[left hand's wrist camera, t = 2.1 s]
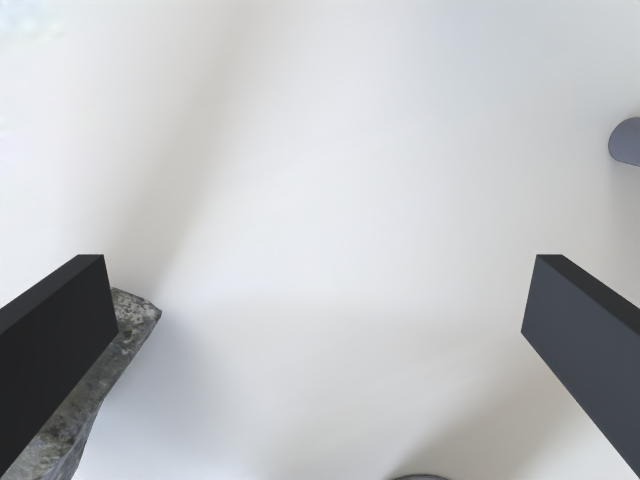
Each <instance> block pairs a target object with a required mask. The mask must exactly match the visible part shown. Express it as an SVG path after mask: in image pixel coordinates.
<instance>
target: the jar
mask: <svg viewBox="0 0 640 480" xmlns="http://www.w3.org/2000/svg"><path fill="white" fill-rule="evenodd" d="M609 151H610V154H611V155H612V157H613V158H614V159H616V160H617V161H620V162H624V163H628V164H632V165H635V166H639V167H640V117H634V118H630V119H627V120H625V121H624V122H622V123H621V124H619V125H618V126H617V127H616V128H615V130H614V131H613V133H612V134H611V136H610V139H609Z"/></svg>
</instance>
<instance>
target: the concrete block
mask: <svg viewBox="0 0 640 480" xmlns="http://www.w3.org/2000/svg"><path fill="white" fill-rule="evenodd" d="M110 289H111V294H112V299H113V304H114V309H115V314H116V319H117V324H118V329H119V333H118V334H117V336H116V337H115V338H114V339H113V341H112V342H111V343H110V344H109V346H108V347H107V348H106V349H105V350H104V352H103V353H102V354H101V355H100V357H99V358H98V359H97V360H96V362H95V363H94V364H93V365H92V366H91V368H90V369H89V370H88V371H87V373H86V374H85V375H84V376H83V378H82V379H81V380H80V381H79V382H78V384H77V385H76V386H75V387H74V389H73V390H72V391H71V392H70V394H69V395H68V396H67V397H66V399H65V400H64V401H63V402H62V403H61V405H60V406H59V407H58V408H57V410H56V411H55V412H54V413H53V415H52V416H51V417H50V418H49V419H48V421H47V422H46V423H45V424H44V426H43V427H42V428H41V429H40V431H39V432H38V433H37V434H36V435H35V437H34V438H33V439H32V440H31V442H30V443H29V444H28V445H27V447H26V448H25V449H24V450H23V451H22V453H21V454H20V455H19V456H18V458H17V459H16V460H15V461H14V463H13V464H12V465H11V466H10V467H9V469H8V470H7V471H6V472H5V474H4V475H3V476H2V477H1V479H0V480H71V479H72V477H73V475H74V473H75V471H76V470H77V468H78V465H79V462H80V459H81V457H82V454H83V450H84V447H85V444H86V442H87V439H88V436H89V433H90V431H91V428H92V425H93V422H94V420H95V418H96V416H97V413H98V411H99V409H100V407H101V404H102V402H103V400H104V398H105V397H106V395H107V394H108V392H109V391H110V390H111V388H112V387H113V386H114V384H115V383H116V381H117V380H118V379H119V377H120V376H121V375H122V373H123V372H124V370H125V369H126V368H127V366H128V365H129V363H130V362H131V361H132V359H133V358H134V356H135V355H136V354H137V352H138V351H139V349H140V348H141V346H142V345H143V343H144V342H145V340H146V339H147V338H148V337H149V335H150V334H151V332H152V330H153V328H154V327H155V325H156V324H157V322H158V320H159V319H160V317H161V314H162V311H161V310H160V309H158V308H157V307H155V306H154V305H153V304H152V303H151V302H150V301H148V300H146V299H143V298H141V297H138V296H135V295H132V294H129V293H127V292H124V291H122V290H119V289H116V288H114V287H110Z"/></svg>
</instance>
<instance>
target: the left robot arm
mask: <svg viewBox="0 0 640 480" xmlns="http://www.w3.org/2000/svg"><path fill="white" fill-rule="evenodd" d="M118 333H119V329H118V324H117V319H116V314H115V309H114V304H113V299H112V294H111V289H110V285H109V280H108V275H107V270H106V265H105V260H104V255H77V256H75V257H74V258H72V259H71V260H70V261H68V262H67V263H65V264H64V265H62V266H61V267H60V268H58V269H57V270H55V271H54V272H52V273H51V274H50V275H48V276H47V277H45V278H44V279H42V280H41V281H40V282H38V283H37V284H35V285H34V286H32V287H31V288H30V289H28V290H27V291H25V292H24V293H22V294H21V295H20V296H18V297H17V298H15V299H14V300H12V301H11V302H10V303H8V304H7V305H5V306H4V307H2V308H1V309H0V479H1V477H2V476H3V475H4V474H5V472H6V471H7V470H8V469H9V467H10V466H11V465H12V464H13V463H14V461H15V460H16V459H17V458H18V456H19V455H20V454H21V453H22V451H23V450H24V449H25V448H26V447H27V445H28V444H29V443H30V442H31V440H32V439H33V438H34V437H35V435H36V434H37V433H38V432H39V431H40V429H41V428H42V427H43V426H44V424H45V423H46V422H47V421H48V419H49V418H50V417H51V416H52V415H53V413H54V412H55V411H56V410H57V408H58V407H59V406H60V405H61V403H62V402H63V401H64V400H65V399H66V397H67V396H68V395H69V394H70V392H71V391H72V390H73V389H74V387H75V386H76V385H77V384H78V382H79V381H80V380H81V379H82V378H83V376H84V375H85V374H86V373H87V371H88V370H89V369H90V368H91V366H92V365H93V364H94V363H95V362H96V360H97V359H98V358H99V357H100V355H101V354H102V353H103V352H104V350H105V349H106V348H107V347H108V346H109V344H110V343H111V342H112V341H113V339H114V338H115V337H116V336H117V334H118ZM521 333H522V334H523V336H524V337H525V338H526V339H527V341H528V342H529V343H530V344H531V346H532V347H533V348H534V349H535V350H536V352H537V353H538V354H539V355H540V357H541V358H542V359H543V360H544V362H545V363H546V364H547V365H548V366H549V368H550V369H551V370H552V371H553V373H554V374H555V375H556V376H557V378H558V379H559V380H560V381H561V382H562V384H563V385H564V386H565V387H566V389H567V390H568V391H569V392H570V394H571V395H572V396H573V397H574V399H575V400H576V401H577V402H578V403H579V405H580V406H581V407H582V408H583V410H584V411H585V412H586V413H587V415H588V416H589V417H590V418H591V419H592V421H593V422H594V423H595V424H596V426H597V427H598V428H599V429H600V431H601V432H602V433H603V434H604V435H605V437H606V438H607V439H608V440H609V442H610V443H611V444H612V445H613V447H614V448H615V449H616V450H617V451H618V453H619V454H620V455H621V456H622V458H623V459H624V460H625V461H626V463H627V464H628V465H629V466H630V467H631V469H632V470H633V471H634V472H635V474H636V475H637V476H638V477H639V479H640V309H639V308H638V307H636V306H635V305H633V304H632V303H630V302H629V301H628V300H626V299H625V298H623V297H622V296H620V295H619V294H618V293H616V292H615V291H613V290H612V289H610V288H609V287H608V286H606V285H605V284H603V283H602V282H600V281H599V280H598V279H596V278H595V277H593V276H592V275H590V274H589V273H588V272H586V271H585V270H583V269H582V268H580V267H579V266H578V265H576V264H575V263H573V262H572V261H570V260H569V259H568V258H566V257H565V256H563V255H536V260H535V265H534V270H533V275H532V280H531V285H530V289H529V294H528V299H527V304H526V309H525V314H524V319H523V324H522V329H521ZM396 480H447V479H444V478H441V477H436V476H429V475H415V476H408V477H403V478H399V479H396Z"/></svg>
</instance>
